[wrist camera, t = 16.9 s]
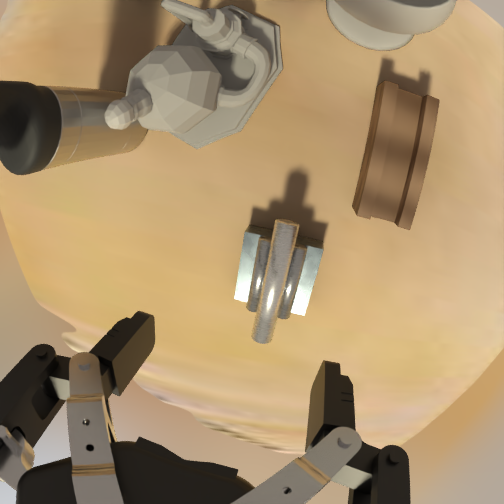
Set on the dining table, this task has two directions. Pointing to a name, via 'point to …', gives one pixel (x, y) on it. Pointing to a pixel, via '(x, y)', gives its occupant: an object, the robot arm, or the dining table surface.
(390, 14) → the chalice
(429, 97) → the grooved beam
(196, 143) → the grey faceted sculpture
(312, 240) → the V-block
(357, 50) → the dining table surface
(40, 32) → the dining table surface
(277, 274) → the axle
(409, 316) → the dining table surface
